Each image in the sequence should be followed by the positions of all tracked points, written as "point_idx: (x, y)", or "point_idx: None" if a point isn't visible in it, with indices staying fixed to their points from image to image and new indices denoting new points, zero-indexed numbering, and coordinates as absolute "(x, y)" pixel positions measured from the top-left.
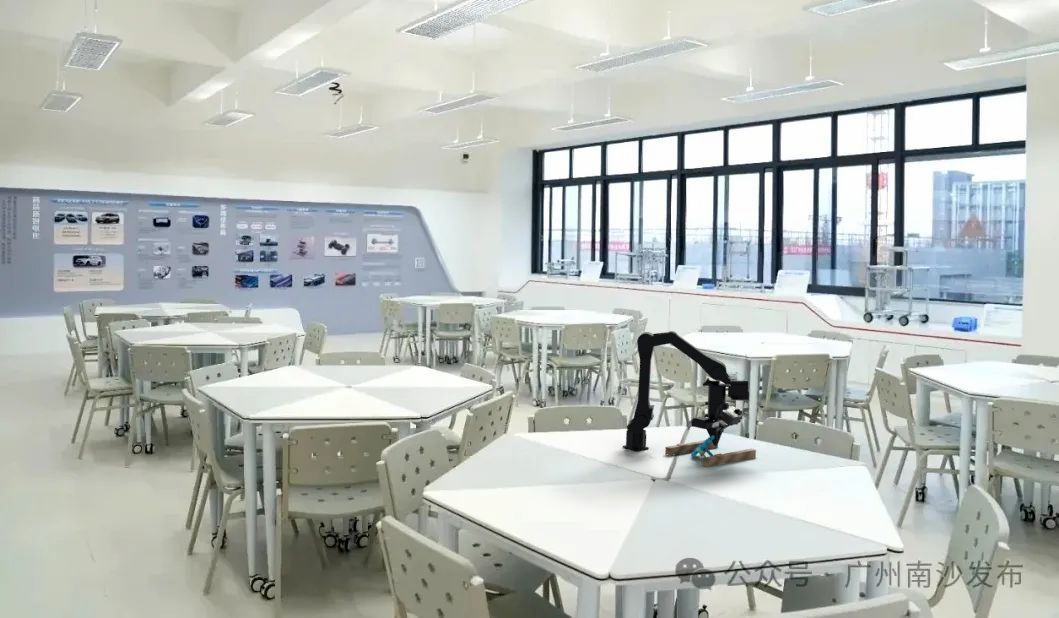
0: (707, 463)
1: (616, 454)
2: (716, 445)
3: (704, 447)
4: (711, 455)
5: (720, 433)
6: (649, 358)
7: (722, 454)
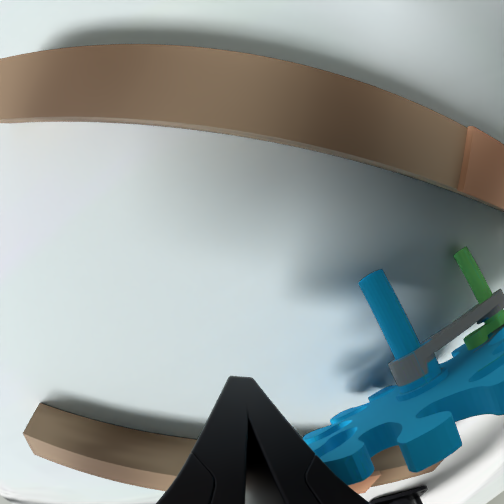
0: None
1: (475, 466)
2: (248, 378)
3: None
4: (393, 290)
5: (217, 493)
6: None
7: (481, 155)
